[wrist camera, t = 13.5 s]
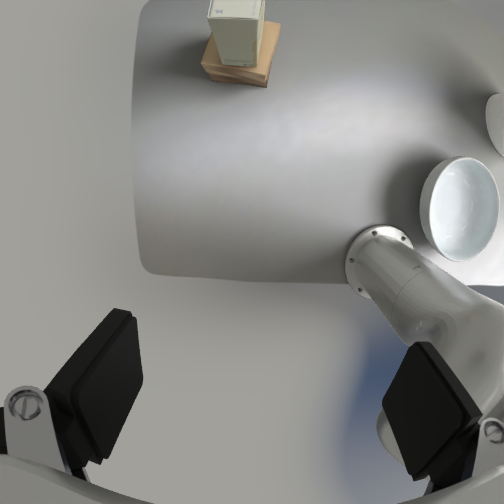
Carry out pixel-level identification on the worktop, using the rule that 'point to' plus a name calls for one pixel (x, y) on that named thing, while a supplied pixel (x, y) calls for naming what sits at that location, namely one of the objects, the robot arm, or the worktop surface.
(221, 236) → the worktop surface
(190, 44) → the worktop surface
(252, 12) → the skincare box
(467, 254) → the cereal bowl
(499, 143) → the canister
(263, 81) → the oak top block
